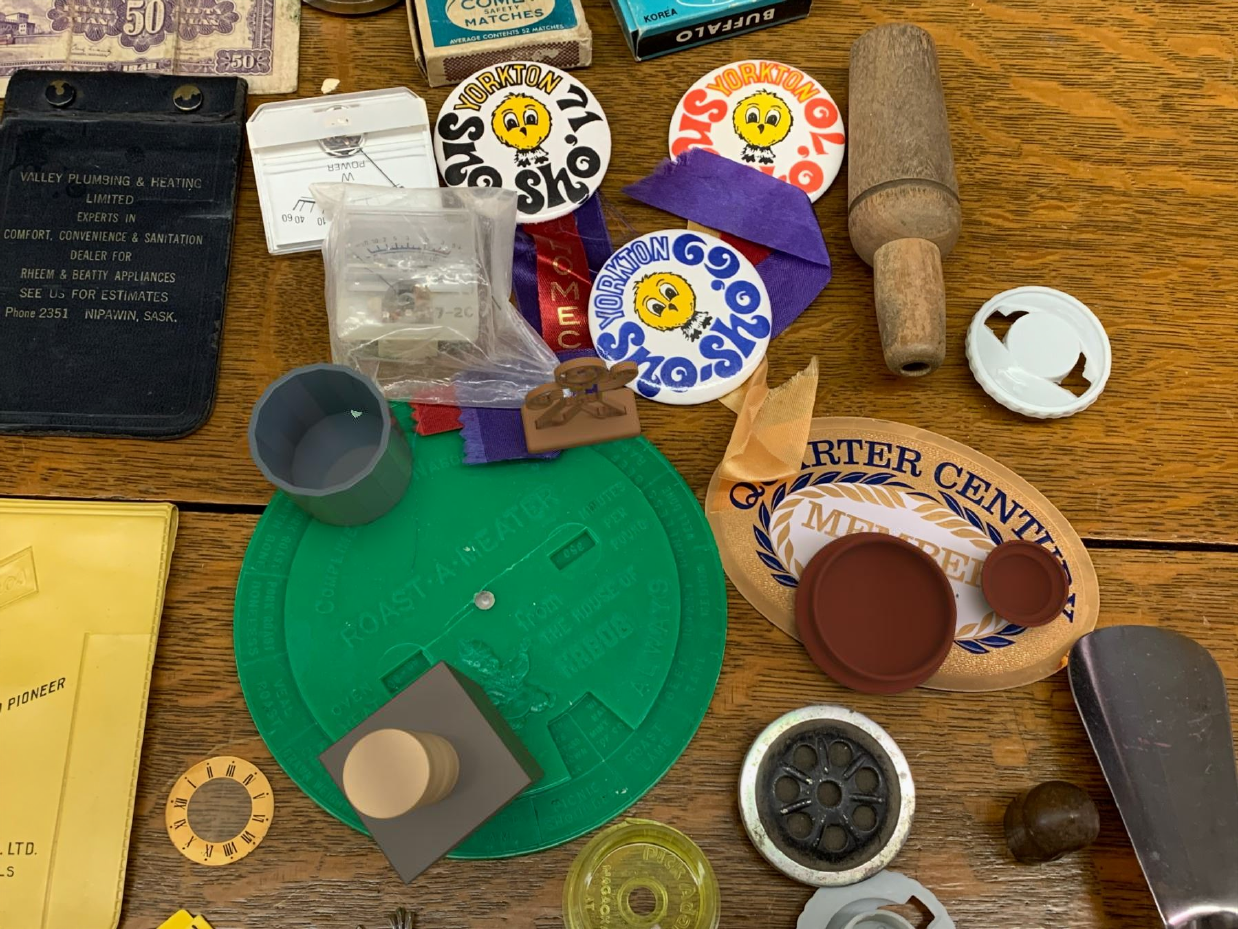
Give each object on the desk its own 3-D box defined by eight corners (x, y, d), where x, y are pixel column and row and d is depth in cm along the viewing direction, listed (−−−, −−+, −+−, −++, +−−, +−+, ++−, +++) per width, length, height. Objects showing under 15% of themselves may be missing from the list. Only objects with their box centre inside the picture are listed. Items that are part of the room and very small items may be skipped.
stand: (452, 851, 65) (405, 887, 48) (385, 755, 67) (316, 756, 49) (546, 774, 67) (532, 781, 49) (477, 682, 68) (442, 658, 51)
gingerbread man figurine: (528, 455, 73) (517, 399, 62) (520, 408, 74) (508, 345, 63) (641, 436, 74) (652, 377, 63) (632, 390, 75) (640, 324, 64)
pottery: (773, 551, 72) (784, 539, 68) (1024, 508, 73) (1051, 493, 69) (809, 709, 69) (824, 707, 64) (1071, 660, 70) (1102, 654, 66)
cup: (333, 551, 71) (298, 523, 62) (263, 456, 73) (220, 416, 64) (437, 476, 73) (417, 439, 64) (366, 385, 74) (338, 337, 66)
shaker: (416, 821, 49) (374, 838, 39) (375, 763, 49) (325, 766, 40) (473, 774, 49) (446, 780, 40) (432, 718, 50) (396, 710, 41)
